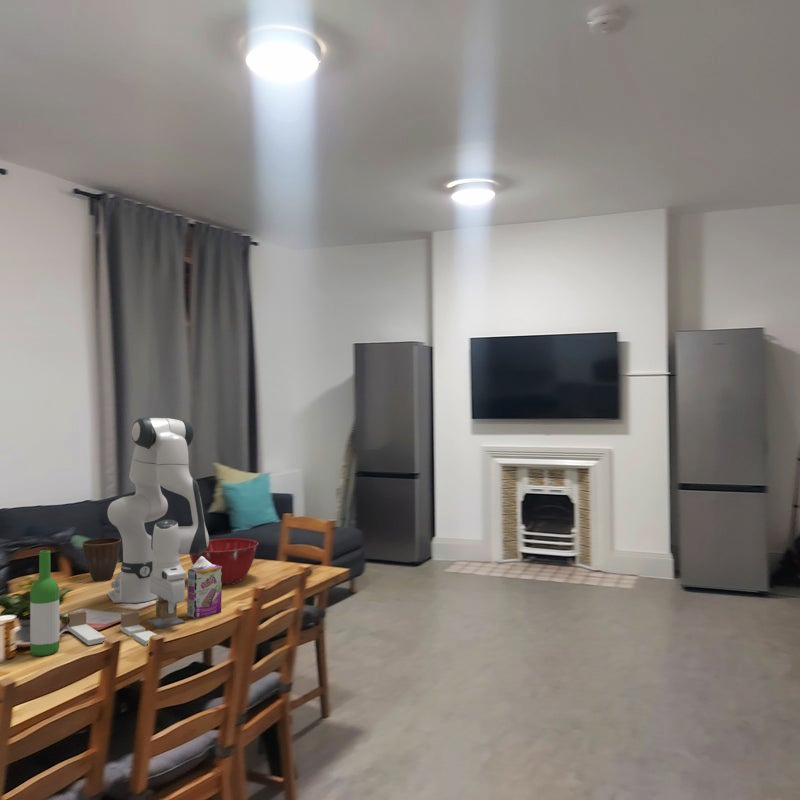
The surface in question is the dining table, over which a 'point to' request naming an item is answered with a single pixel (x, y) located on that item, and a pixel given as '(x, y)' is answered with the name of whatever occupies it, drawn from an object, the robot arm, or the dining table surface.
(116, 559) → the plant pot
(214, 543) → the mixing bowl
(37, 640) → the wine bottle
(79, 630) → the strip
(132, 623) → the strip broken
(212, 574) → the candy bar box
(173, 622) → the coaster
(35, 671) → the dining table surface
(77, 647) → the dining table surface
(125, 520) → the robot arm
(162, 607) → the cube
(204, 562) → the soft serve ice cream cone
